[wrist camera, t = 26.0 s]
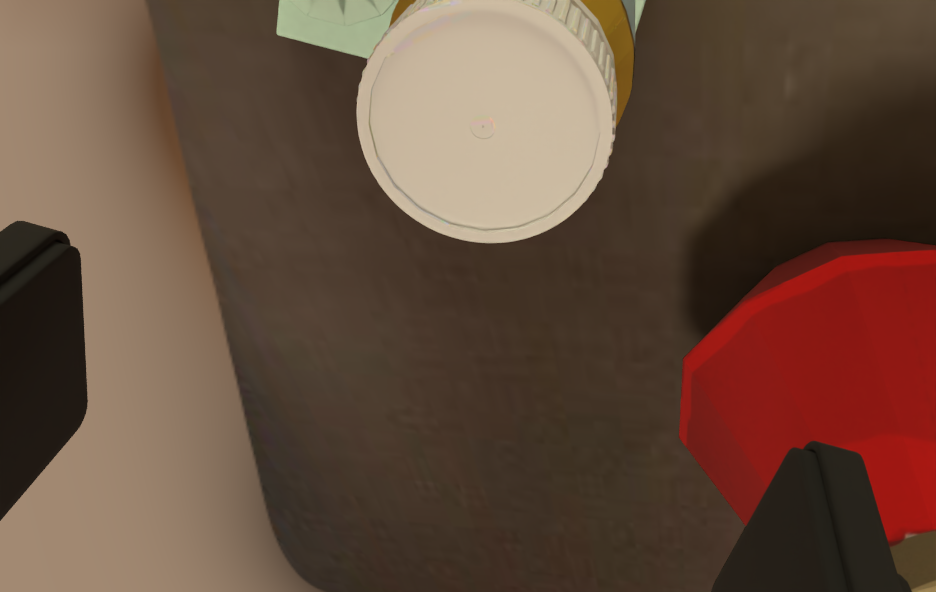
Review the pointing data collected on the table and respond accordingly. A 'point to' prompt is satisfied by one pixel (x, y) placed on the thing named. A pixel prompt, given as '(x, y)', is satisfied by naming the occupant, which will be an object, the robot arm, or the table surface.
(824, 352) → the bottle
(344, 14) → the scale
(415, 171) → the bottle
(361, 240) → the table surface
